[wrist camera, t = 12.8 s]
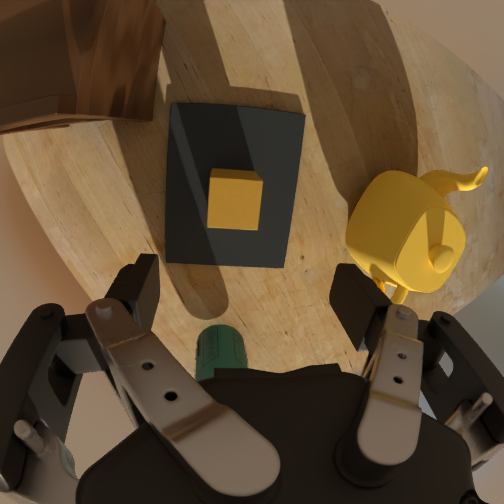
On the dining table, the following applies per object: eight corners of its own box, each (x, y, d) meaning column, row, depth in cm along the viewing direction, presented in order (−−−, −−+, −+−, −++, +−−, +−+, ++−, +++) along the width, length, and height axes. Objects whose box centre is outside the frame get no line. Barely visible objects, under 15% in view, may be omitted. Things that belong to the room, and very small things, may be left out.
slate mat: (172, 103, 25) (171, 102, 25) (304, 115, 27) (305, 114, 27) (166, 260, 33) (165, 262, 32) (282, 266, 35) (283, 268, 34)
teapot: (447, 175, 32) (511, 200, 21) (381, 292, 38) (425, 345, 27) (385, 120, 28) (457, 125, 17) (309, 260, 35) (347, 321, 23)
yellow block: (211, 168, 28) (209, 176, 23) (254, 171, 29) (263, 180, 23) (209, 209, 30) (206, 227, 25) (250, 211, 31) (257, 230, 25)
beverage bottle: (193, 317, 36) (184, 455, 18) (243, 314, 37) (264, 451, 19) (200, 352, 39) (198, 478, 21) (245, 349, 40) (264, 474, 21)
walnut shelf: (71, 35, 20) (-32, -9, 2) (166, 21, 21) (112, -78, 4) (58, 128, 24) (-66, 149, 7) (152, 121, 26) (56, 114, 9)
